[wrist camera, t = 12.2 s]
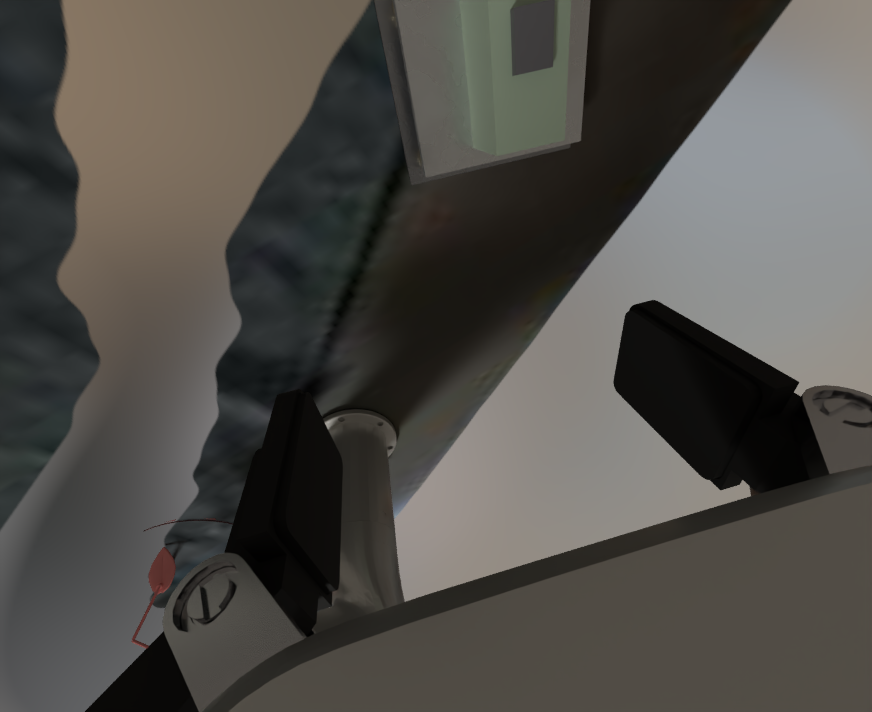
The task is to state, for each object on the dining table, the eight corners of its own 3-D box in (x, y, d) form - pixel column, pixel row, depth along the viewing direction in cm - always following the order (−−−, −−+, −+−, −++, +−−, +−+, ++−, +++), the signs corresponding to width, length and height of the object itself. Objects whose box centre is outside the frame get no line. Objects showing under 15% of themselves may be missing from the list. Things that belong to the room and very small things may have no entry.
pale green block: (530, 134, 29) (569, 140, 24) (473, 147, 29) (499, 157, 24) (529, -18, 24) (579, -54, 18) (459, -3, 23) (489, -35, 18)
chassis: (568, 147, 34) (590, 151, 31) (410, 184, 33) (416, 192, 30) (579, -69, 26) (611, -94, 22) (368, -26, 25) (370, -45, 22)
